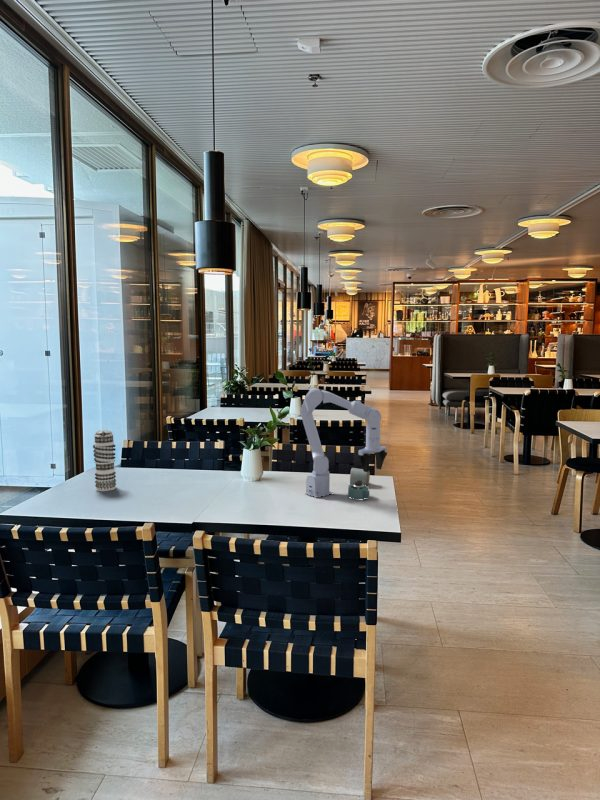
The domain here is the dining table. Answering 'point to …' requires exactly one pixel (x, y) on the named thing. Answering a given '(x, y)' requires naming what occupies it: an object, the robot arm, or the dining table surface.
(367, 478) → the ceramic mug
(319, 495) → the robot arm
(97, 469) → the white tiered cylinder
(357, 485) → the black and white knob
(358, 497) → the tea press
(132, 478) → the dining table surface
